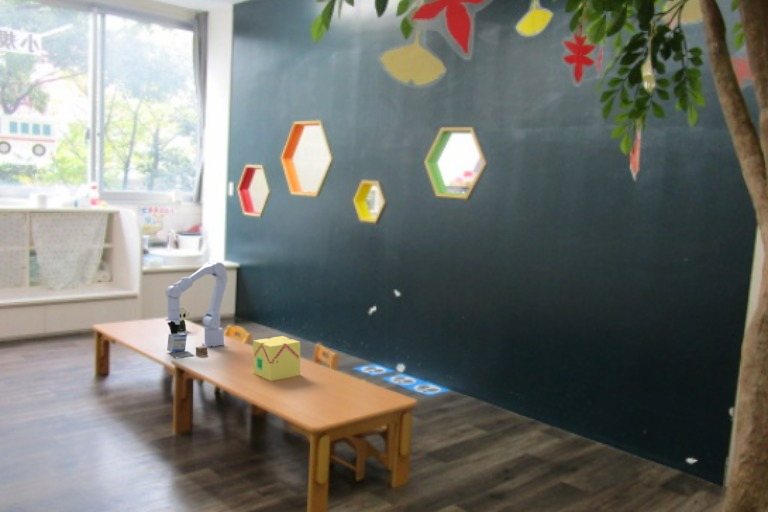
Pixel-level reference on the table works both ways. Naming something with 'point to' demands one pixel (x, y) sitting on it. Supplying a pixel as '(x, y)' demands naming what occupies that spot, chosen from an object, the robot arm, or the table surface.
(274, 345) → the toy block
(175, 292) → the robot arm
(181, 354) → the mat
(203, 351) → the walnut block
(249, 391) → the table surface
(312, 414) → the table surface
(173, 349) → the medicine box
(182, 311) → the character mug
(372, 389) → the table surface
